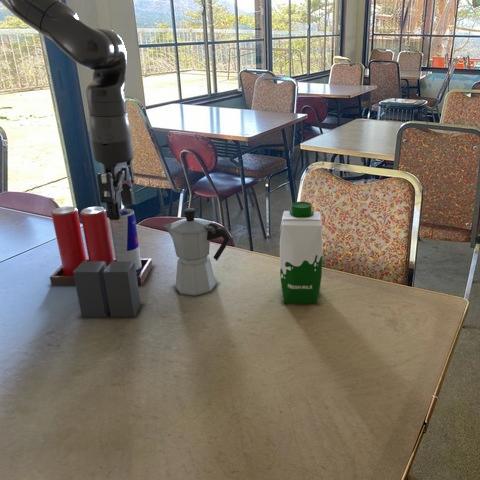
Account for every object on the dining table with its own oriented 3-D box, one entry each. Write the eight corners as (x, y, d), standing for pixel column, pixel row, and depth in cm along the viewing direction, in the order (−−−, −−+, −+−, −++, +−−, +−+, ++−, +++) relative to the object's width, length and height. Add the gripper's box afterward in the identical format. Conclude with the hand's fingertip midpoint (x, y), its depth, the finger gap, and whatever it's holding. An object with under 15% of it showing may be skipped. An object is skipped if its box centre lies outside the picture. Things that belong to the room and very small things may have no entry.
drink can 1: (60, 278, 106) (46, 213, 100) (69, 268, 111) (57, 205, 104) (83, 278, 106) (71, 214, 100) (92, 268, 111) (80, 206, 105)
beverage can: (146, 273, 109) (138, 211, 103) (125, 280, 106) (115, 217, 100) (135, 266, 113) (126, 205, 106) (114, 273, 109) (104, 211, 103)
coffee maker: (159, 292, 103) (150, 213, 96) (177, 273, 111) (170, 199, 104) (225, 300, 101) (221, 220, 94) (239, 280, 109) (236, 206, 101)
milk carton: (320, 285, 108) (322, 201, 100) (321, 306, 100) (324, 216, 92) (281, 284, 108) (280, 200, 99) (279, 306, 99) (278, 216, 91)
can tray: (51, 285, 104) (49, 277, 103) (69, 266, 113) (67, 258, 112) (141, 285, 105) (140, 277, 105) (152, 266, 114) (151, 258, 113)
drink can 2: (88, 278, 106) (76, 214, 100) (96, 268, 111) (85, 206, 105) (111, 278, 107) (100, 214, 101) (118, 268, 111) (108, 206, 105)
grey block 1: (81, 317, 93) (72, 271, 89) (90, 305, 98) (82, 261, 94) (105, 317, 94) (97, 272, 90) (113, 305, 98) (105, 261, 94)
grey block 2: (110, 317, 94) (103, 271, 90) (118, 305, 98) (111, 261, 94) (134, 317, 94) (127, 271, 90) (140, 305, 98) (134, 261, 94)
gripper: (104, 129, 103) (114, 201, 109) (77, 144, 90) (90, 224, 96) (140, 130, 103) (148, 201, 110) (118, 145, 90) (129, 225, 97)
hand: (121, 212), depth 103 cm, fingers open, 8 cm apart
